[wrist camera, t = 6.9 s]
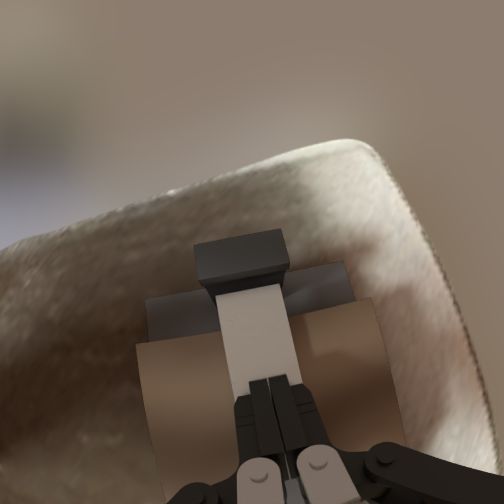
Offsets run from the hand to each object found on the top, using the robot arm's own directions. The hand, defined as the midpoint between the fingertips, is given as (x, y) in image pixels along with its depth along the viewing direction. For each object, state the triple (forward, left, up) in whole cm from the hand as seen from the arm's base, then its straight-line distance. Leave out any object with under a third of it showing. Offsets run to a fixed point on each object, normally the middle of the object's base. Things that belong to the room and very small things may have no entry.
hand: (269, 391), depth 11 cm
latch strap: (+2, -3, -2) cm, 4 cm away
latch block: (+1, -2, -8) cm, 9 cm away
